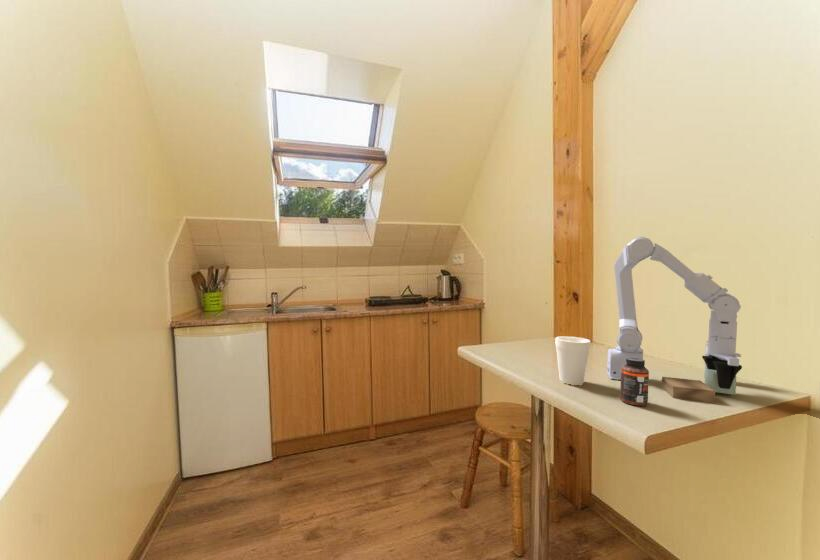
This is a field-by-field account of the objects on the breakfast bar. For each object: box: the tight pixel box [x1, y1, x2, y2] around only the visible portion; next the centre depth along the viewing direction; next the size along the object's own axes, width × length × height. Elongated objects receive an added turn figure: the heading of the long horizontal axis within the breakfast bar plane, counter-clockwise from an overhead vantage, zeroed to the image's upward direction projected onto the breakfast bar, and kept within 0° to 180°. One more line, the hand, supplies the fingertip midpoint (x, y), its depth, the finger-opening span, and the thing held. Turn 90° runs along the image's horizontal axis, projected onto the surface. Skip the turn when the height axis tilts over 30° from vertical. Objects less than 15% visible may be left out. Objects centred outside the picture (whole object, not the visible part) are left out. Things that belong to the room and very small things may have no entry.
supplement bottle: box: [619, 357, 650, 407], centre depth 88 cm, size 6×6×11 cm
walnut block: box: [661, 376, 716, 404], centre depth 94 cm, size 9×9×4 cm
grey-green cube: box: [704, 368, 737, 395], centre depth 96 cm, size 5×5×5 cm
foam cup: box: [554, 335, 591, 386], centre depth 103 cm, size 10×9×13 cm
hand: (719, 385), depth 96 cm, fingers closed on grey-green cube, 5 cm apart
